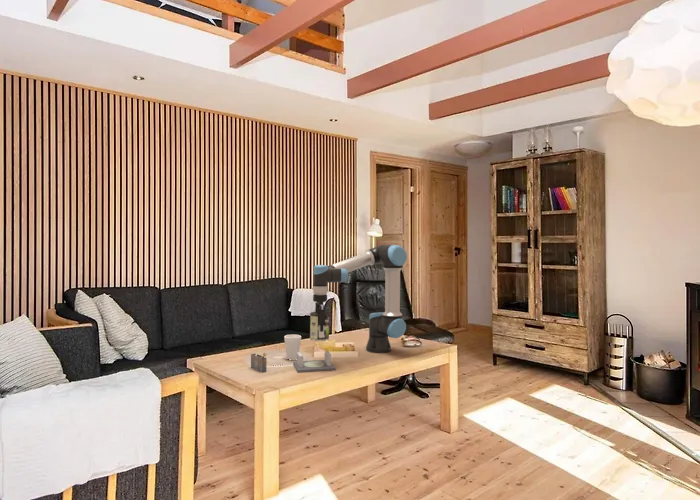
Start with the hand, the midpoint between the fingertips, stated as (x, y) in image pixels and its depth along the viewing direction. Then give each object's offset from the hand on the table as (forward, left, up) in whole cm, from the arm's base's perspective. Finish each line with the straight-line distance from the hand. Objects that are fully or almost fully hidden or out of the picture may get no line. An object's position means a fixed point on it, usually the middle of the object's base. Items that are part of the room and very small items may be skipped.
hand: (319, 335), depth 257 cm
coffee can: (0, 0, -2) cm, 2 cm away
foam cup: (+12, -17, -17) cm, 27 cm away
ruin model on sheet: (+32, 0, -17) cm, 36 cm away
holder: (+3, +1, -17) cm, 17 cm away
